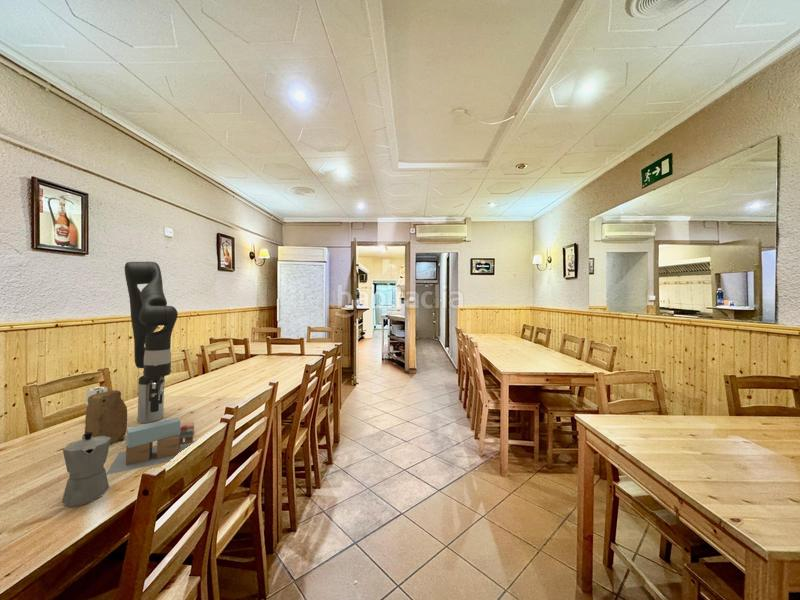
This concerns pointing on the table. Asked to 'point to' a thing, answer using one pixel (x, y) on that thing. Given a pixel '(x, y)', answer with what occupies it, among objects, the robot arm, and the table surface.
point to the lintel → (152, 432)
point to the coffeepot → (86, 470)
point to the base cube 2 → (168, 446)
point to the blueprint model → (186, 436)
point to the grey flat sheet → (121, 465)
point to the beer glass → (95, 392)
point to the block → (106, 415)
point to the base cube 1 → (138, 453)
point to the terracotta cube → (188, 426)
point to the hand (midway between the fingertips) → (156, 407)
